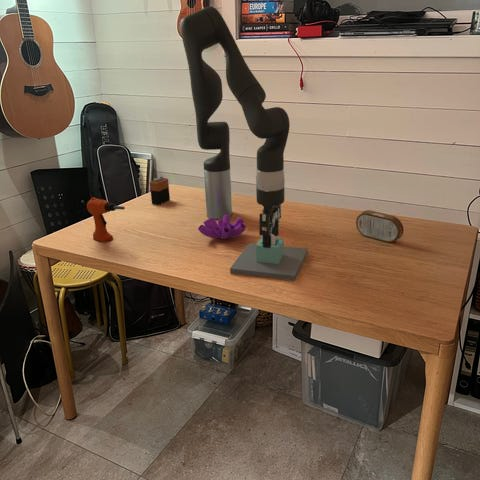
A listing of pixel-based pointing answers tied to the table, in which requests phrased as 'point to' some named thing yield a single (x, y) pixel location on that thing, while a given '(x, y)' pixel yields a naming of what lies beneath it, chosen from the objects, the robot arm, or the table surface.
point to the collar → (270, 251)
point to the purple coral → (222, 227)
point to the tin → (379, 226)
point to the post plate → (283, 270)
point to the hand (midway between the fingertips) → (270, 241)
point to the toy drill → (101, 217)
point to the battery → (159, 190)
